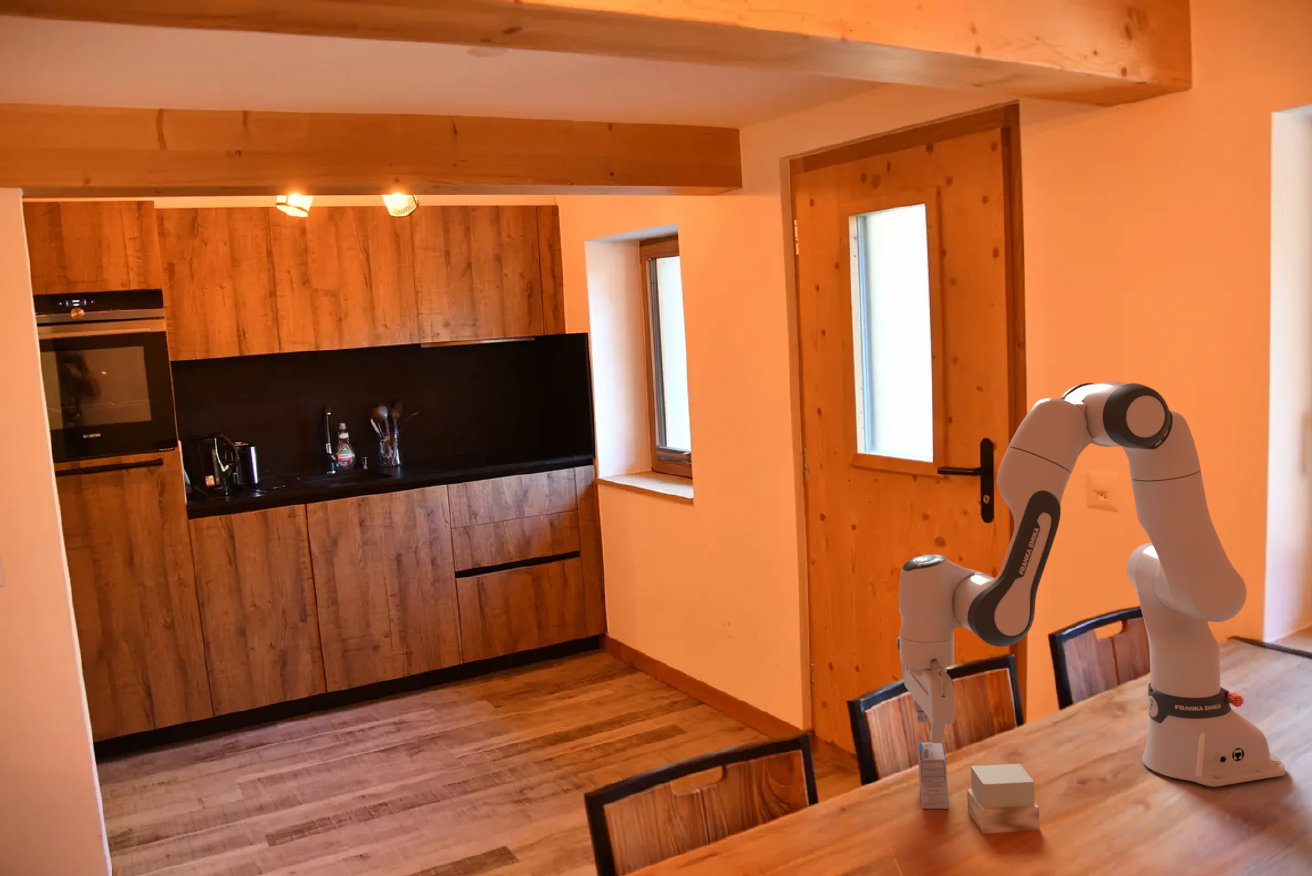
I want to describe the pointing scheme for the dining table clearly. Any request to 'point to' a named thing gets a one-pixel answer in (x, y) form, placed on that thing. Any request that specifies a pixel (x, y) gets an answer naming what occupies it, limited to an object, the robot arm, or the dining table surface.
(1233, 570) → the robot arm
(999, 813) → the tower base
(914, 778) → the dining table surface
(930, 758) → the medicine box
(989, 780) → the tower top
